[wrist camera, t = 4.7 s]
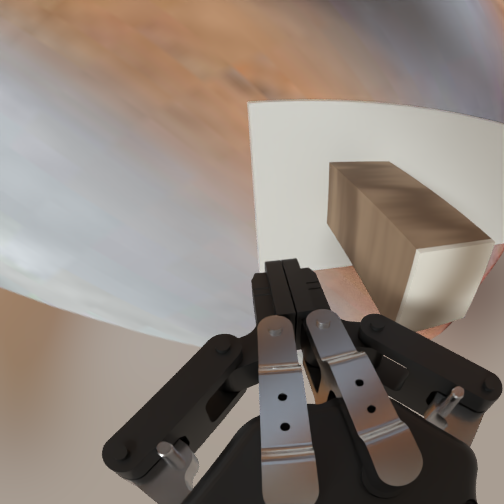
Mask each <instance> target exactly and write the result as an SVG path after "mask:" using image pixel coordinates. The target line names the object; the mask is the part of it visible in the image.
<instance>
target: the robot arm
mask: <svg viewBox="0 0 504 504" xmlns="http://www.w3.org/2000/svg"><path fill="white" fill-rule="evenodd" d="M251 282H252V294H253V305H254V313H255V319H256V327H255V329H254V330H253V331H252V332H251V333H249V334H248V335H246V336H243V337H241V338H237V337H235V336H233V335H230V334H220V335H216V336H214V337H212V338H211V339H210V340H208V342H207V343H206V344H205V345H204V346H203V347H202V348H201V349H200V350H199V351H198V352H197V353H196V354H195V355H194V356H193V357H192V358H191V359H190V360H189V361H188V362H187V363H186V364H185V365H184V366H183V367H182V368H181V369H180V370H179V371H178V373H176V374H175V375H174V376H173V377H172V378H171V379H170V380H169V381H168V382H167V383H166V384H165V385H164V386H163V387H162V388H161V389H160V390H159V391H158V392H157V393H156V394H155V395H154V396H153V397H152V398H151V399H150V400H149V401H148V402H147V403H146V404H145V405H144V406H143V407H142V408H141V409H140V410H139V411H138V412H137V413H136V414H135V415H134V416H133V417H132V418H131V419H130V420H129V421H128V422H127V423H126V424H125V425H124V426H123V427H122V428H121V429H120V430H118V431H117V432H116V433H115V434H114V435H113V436H112V437H111V438H110V439H109V440H108V441H107V442H106V443H105V445H104V447H103V451H102V457H103V461H104V462H105V464H106V465H107V466H108V467H109V468H110V469H111V470H113V471H114V472H116V473H117V474H118V475H119V476H120V477H122V478H123V479H125V480H126V481H128V482H130V483H131V484H133V485H135V486H138V487H139V488H140V489H141V490H142V491H144V492H145V493H146V494H147V495H148V496H149V497H151V498H152V499H153V500H154V501H156V502H157V503H158V504H478V503H477V500H476V477H477V470H478V467H477V459H476V457H475V454H474V452H473V450H472V449H471V448H470V446H471V444H472V441H473V439H474V437H475V435H476V432H477V429H478V427H479V425H480V423H481V420H482V417H483V415H484V413H485V412H486V411H487V410H488V408H490V407H491V405H492V404H493V403H494V402H495V401H496V400H497V399H498V398H499V397H500V395H501V393H502V383H501V381H500V379H499V378H498V377H497V376H496V375H495V374H494V373H492V372H490V371H488V370H486V369H484V368H482V367H481V366H479V365H477V364H475V363H473V362H471V361H469V360H467V359H465V358H464V357H462V356H460V355H458V354H456V353H454V352H452V351H450V350H448V349H446V348H444V347H443V346H441V345H439V344H437V343H435V342H433V341H431V340H429V339H427V338H425V337H424V336H422V335H420V334H418V333H416V332H414V331H412V330H410V329H408V328H406V327H404V326H402V325H401V324H399V323H397V322H395V321H393V320H391V319H389V318H387V317H385V316H383V315H380V314H369V315H367V316H365V317H364V318H363V319H362V320H361V322H351V321H345V320H342V319H340V318H339V316H338V315H337V314H336V313H335V312H333V311H331V309H330V307H329V304H328V302H327V299H326V297H325V295H324V292H323V290H322V288H321V285H320V283H319V280H318V278H317V275H316V273H314V272H313V271H312V270H311V269H310V268H309V267H308V268H300V265H299V263H298V260H297V258H293V259H284V260H281V261H280V260H275V261H266V262H265V272H264V273H255V274H254V277H253V279H252V281H251ZM299 349H302V353H303V366H304V369H305V372H306V375H307V378H308V380H309V383H310V386H311V389H312V392H313V395H314V398H315V404H307V403H306V396H305V389H304V382H303V375H302V369H301V365H299V363H298V357H297V350H299ZM383 355H385V356H387V357H388V358H390V359H392V360H394V361H396V362H397V363H399V364H401V365H403V366H404V367H406V368H407V369H406V368H404V367H403V366H401V365H399V364H397V363H395V362H394V361H392V360H390V359H388V358H387V357H385V356H383ZM258 383H259V400H260V415H259V416H257V417H255V418H253V419H251V420H250V421H248V422H247V423H246V424H244V426H242V427H241V428H240V429H239V430H238V431H237V433H236V434H235V435H234V437H233V438H232V439H231V441H230V442H229V444H228V445H227V446H226V448H225V449H224V450H223V452H222V453H221V454H220V455H219V457H218V458H217V459H216V461H215V462H214V463H213V465H212V466H211V467H210V468H209V470H208V471H207V472H206V473H205V475H204V476H203V477H202V478H201V480H200V481H199V482H198V483H197V485H196V486H195V487H194V488H193V486H192V483H193V479H194V476H195V475H196V473H197V472H198V468H199V462H198V459H197V457H196V456H195V455H194V453H195V452H196V451H197V449H198V448H199V447H200V446H201V445H202V444H203V443H204V442H205V440H206V439H207V438H208V437H209V435H210V434H211V433H212V432H213V431H214V430H215V429H216V427H217V426H218V425H219V424H220V423H221V421H222V420H223V419H224V418H225V417H226V415H227V414H228V413H229V412H230V411H231V409H232V408H233V407H234V406H235V404H236V403H237V402H238V401H239V399H240V398H241V397H242V396H243V394H244V393H245V392H246V390H247V388H248V387H251V386H253V385H256V384H258ZM388 396H390V397H392V398H393V399H395V400H397V401H399V402H400V403H402V404H404V405H405V406H407V407H409V408H411V409H412V410H414V411H416V412H418V413H419V414H421V415H423V416H424V418H422V417H421V416H419V415H418V414H416V413H414V412H413V411H411V410H410V409H408V408H406V407H405V406H403V405H402V404H400V403H398V402H397V401H395V400H393V399H391V398H389V397H388Z"/></svg>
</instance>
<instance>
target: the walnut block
mask: <svg viewBox="0 0 504 504" xmlns="http://www.w3.org/2000/svg"><path fill="white" fill-rule="evenodd" d="M327 224H328V226H329V227H330V229H331V231H332V232H333V234H334V235H335V237H336V239H337V240H338V242H339V243H340V245H341V247H342V248H343V250H344V252H345V253H346V255H347V256H348V258H349V260H350V261H351V263H352V265H353V266H354V268H355V270H356V272H357V273H358V275H359V277H360V278H361V280H362V282H363V284H364V285H365V287H366V289H367V290H368V292H369V294H370V296H371V298H372V299H373V301H374V303H375V305H376V306H377V308H378V310H379V312H380V314H381V315H383V316H385V317H387V318H389V319H391V320H393V321H395V322H397V323H399V324H401V325H402V326H404V327H406V328H408V329H410V330H412V331H414V332H417V331H420V330H424V329H428V328H431V327H435V326H439V325H442V324H445V323H449V322H452V321H455V320H459V319H462V318H464V317H465V315H466V313H467V311H468V309H469V307H470V304H471V302H472V300H473V298H474V296H475V293H476V291H477V289H478V287H479V284H480V282H481V279H482V277H483V274H484V272H485V269H486V267H487V264H488V261H489V259H490V256H491V253H492V250H493V247H494V245H495V241H494V240H493V239H491V238H490V237H489V236H488V235H487V234H486V233H485V232H483V231H482V230H481V229H480V228H479V227H478V226H476V225H475V224H474V223H473V222H472V221H470V220H469V219H468V218H467V217H466V216H464V215H463V214H462V213H461V212H459V211H458V210H457V209H456V208H454V207H453V206H452V205H450V204H449V203H448V202H447V201H445V200H444V199H443V198H441V197H440V196H439V195H437V194H436V193H434V192H433V191H432V190H430V189H429V188H428V187H426V186H425V185H423V184H422V183H421V182H419V181H418V180H416V179H415V178H413V177H412V176H410V175H409V174H407V173H406V172H404V171H403V170H401V169H400V168H398V167H397V166H395V165H394V164H392V163H391V162H389V161H356V162H329V189H328V210H327Z"/></svg>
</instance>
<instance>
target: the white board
mask: <svg viewBox="0 0 504 504" xmlns="http://www.w3.org/2000/svg"><path fill="white" fill-rule="evenodd" d="M247 107H248V121H249V135H250V150H251V164H252V178H253V193H254V207H255V222H256V237H257V252H258V267H259V272H260V273H264V272H265V262H266V261H275V260H280V261H281V260H284V259H293V258H297V260H298V263H299V265H300V268H308V267H309V268H310V269H311V270H312V271H313V270H321V269H329V268H337V267H345V266H353V265H352V263H351V261H350V260H349V258H348V256H347V255H346V253H345V252H344V250H343V248H342V247H341V245H340V243H339V242H338V240H337V239H336V237H335V235H334V234H333V232H332V231H331V229H330V227H329V226H328V224H327V210H328V189H329V162H356V161H389V162H391V163H392V164H394V165H395V166H397V167H398V168H400V169H401V170H403V171H404V172H406V173H407V174H409V175H410V176H412V177H413V178H415V179H416V180H418V181H419V182H421V183H422V184H423V185H425V186H426V187H428V188H429V189H430V190H432V191H433V192H434V193H436V194H437V195H439V196H440V197H441V198H443V199H444V200H445V201H447V202H448V203H449V204H450V205H452V206H453V207H454V208H456V209H457V210H458V211H459V212H461V213H462V214H463V215H464V216H466V217H467V218H468V219H469V220H470V221H472V222H473V223H474V224H475V225H476V226H478V227H479V228H480V229H481V230H482V231H483V232H485V233H486V234H487V235H488V236H489V237H490V238H491V239H493V240H494V241H495V245H496V244H502V243H504V123H500V122H496V121H492V120H488V119H484V118H480V117H475V116H471V115H466V114H461V113H456V112H450V111H445V110H439V109H433V108H426V107H419V106H411V105H403V104H394V103H384V102H371V101H356V100H330V99H291V100H265V101H249V102H247Z"/></svg>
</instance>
